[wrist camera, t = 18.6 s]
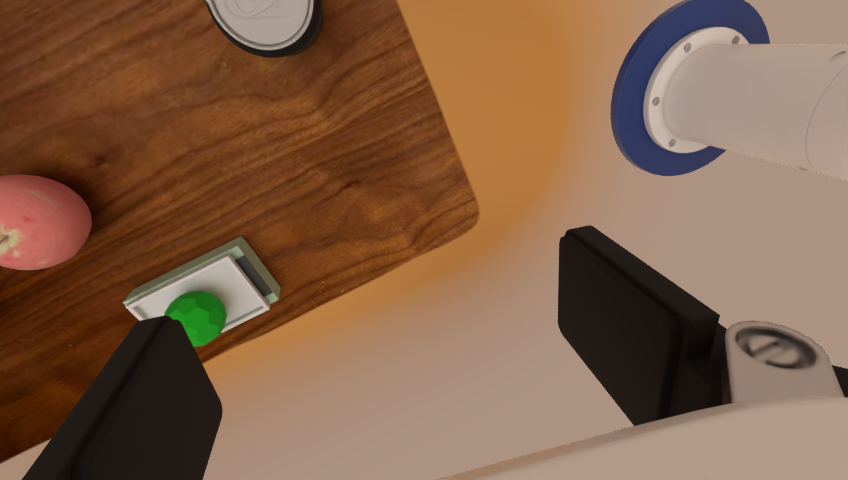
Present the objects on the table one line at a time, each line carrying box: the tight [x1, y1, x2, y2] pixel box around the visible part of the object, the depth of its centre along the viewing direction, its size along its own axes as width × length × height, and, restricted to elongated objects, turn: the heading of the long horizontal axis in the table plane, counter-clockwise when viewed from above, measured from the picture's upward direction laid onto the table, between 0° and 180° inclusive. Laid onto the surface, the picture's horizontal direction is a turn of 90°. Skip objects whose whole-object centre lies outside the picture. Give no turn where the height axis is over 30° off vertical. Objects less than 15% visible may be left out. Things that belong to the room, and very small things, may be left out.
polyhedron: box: [164, 291, 227, 347], centre depth 37 cm, size 5×5×5 cm
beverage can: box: [205, 0, 323, 58], centre depth 28 cm, size 7×7×12 cm
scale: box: [123, 236, 281, 333], centre depth 40 cm, size 12×7×4 cm, turn 113°
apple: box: [0, 174, 92, 270], centre depth 32 cm, size 7×7×8 cm
